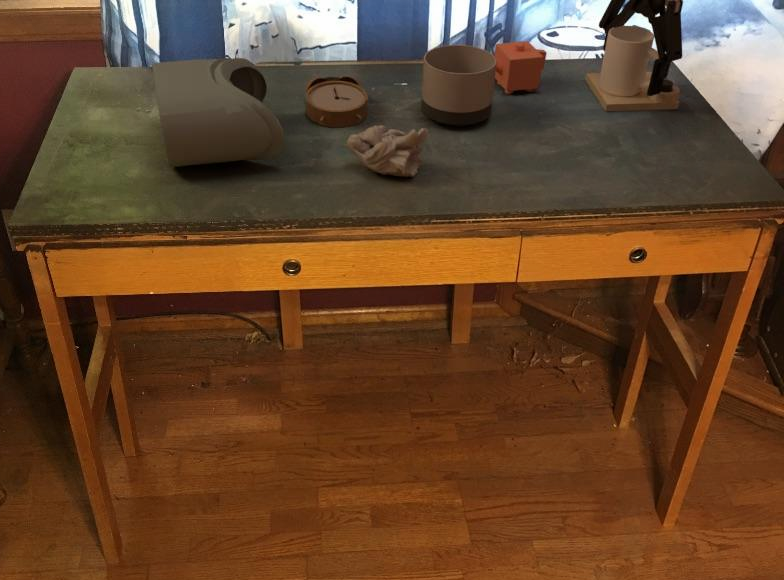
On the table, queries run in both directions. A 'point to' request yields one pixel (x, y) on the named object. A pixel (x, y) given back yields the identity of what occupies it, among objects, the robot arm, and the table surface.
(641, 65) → the mug
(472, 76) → the planter
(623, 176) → the table surface
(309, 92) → the alarm clock
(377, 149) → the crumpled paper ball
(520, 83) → the orange footed box
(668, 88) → the button
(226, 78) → the grey curved shell
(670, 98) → the scale
